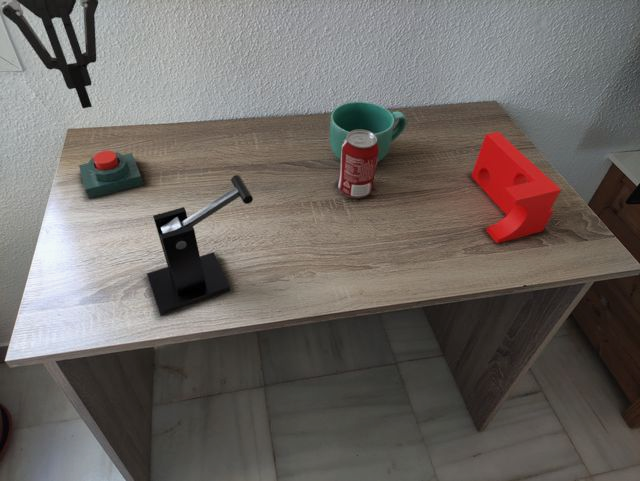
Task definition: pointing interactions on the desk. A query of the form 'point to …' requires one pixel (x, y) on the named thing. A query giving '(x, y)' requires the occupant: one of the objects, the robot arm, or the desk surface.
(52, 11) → the robot arm
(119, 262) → the desk surface
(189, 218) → the lever
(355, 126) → the mug
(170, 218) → the bracket
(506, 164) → the bracket
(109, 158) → the button
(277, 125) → the desk surface
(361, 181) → the soda can
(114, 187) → the button box
